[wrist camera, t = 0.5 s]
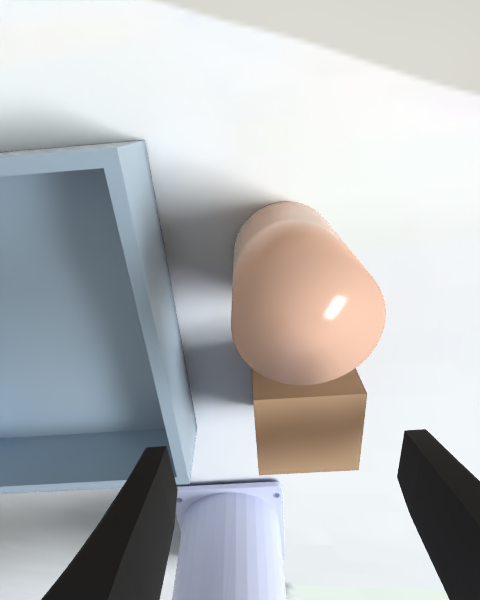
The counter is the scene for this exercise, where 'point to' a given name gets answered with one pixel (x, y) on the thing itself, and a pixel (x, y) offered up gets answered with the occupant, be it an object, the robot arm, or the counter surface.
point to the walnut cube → (308, 424)
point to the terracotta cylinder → (301, 298)
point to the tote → (86, 322)
